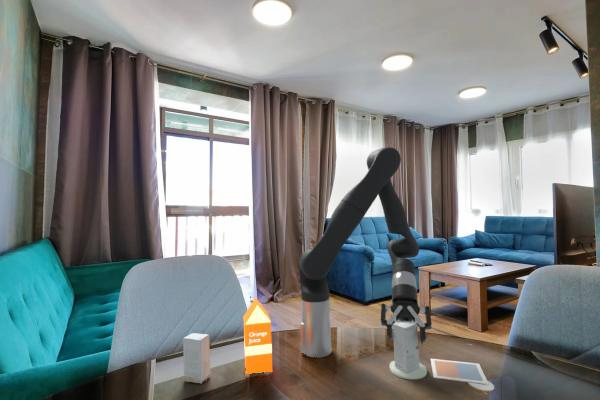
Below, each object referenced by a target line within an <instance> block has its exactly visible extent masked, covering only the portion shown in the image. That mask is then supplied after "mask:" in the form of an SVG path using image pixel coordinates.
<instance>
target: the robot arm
mask: <svg viewBox="0 0 600 400" xmlns="http://www.w3.org/2000/svg"><path fill="white" fill-rule="evenodd" d="M401 161H402V157H401V154H400V152H399V150H397V149H396V148H394V147H392V146H389V147H382V148H378V149H376V150H372V151H371V152H370V153H369V154H368V156H367V158H366V166H367V169H368V171H367V172H366V174H365V175H364V176H363V178H362V179H361V180H360V181H359V182H357V183H356V184H355V185H354V187H352V188H351V189H350V190H349V191H348V192H347V193H346V194H345V195H344V196H343V198H342V199H341V200H340V202H339V203H338V204H337V206H336V208H335V209H334V211H333V213H332V214H331V217H330V218H329V221H328V223H327V226H326V229H325V231H324V233H323V235H322V236H321V237H320V238H319V240H318V242H317V243H316V244H315V245H314V247H313V248H308V249H307V250H305V251H304V252H303V253H302V254H301V256H300V257H299V264H298V265H299V267H298V268H299V285H300V286H299V287H300V295H301V318H302V319H301V321H302V322H301V323H300V348H301V353H304V354H303V355H305V354H306V355H305V356H307V357H308V358H309V357H310V358H314V357H315V358H314V359H319V358H320V359H321V358H324V357H327V356H330V354H331V353H332V332H331V331H332V329H331V328H332V327H331V308H330V305H331V303H330V289H329V285H328V279H327V278H328V277H327V275H328V273H329V272H330V271H331V270H330V269H331V268H332V266H333V265H334V262H335V260H336V258H337V257H338V254H340V253H339V252H340V251H341V250H342V248H343V246H344V245H345V243H347V241H348V239H350V238H351V236H352V235H353V233H354V231H355V230H356V228H357V227H358V225H359V224H360V223H361V222H362V221H363V218H364V217H365V215H366V214H367V213H368V211H369V209H370V208H371V206H372V205H373V203H374V201H375V200H376V198H377V197H378V198H379V200H380V203H381V207H382V212H383V214H384V219H385V223H386V228H387V231H388V232H389V233H390V234H394V235H401V236H402V237H401V238H394V239H391V240H390V241H388V243H387V246H386V249H387V253H388V255H389V258H390V261H391V265H392V279H391V280H392V281H391V304H390V305H386V303H381V304H380V305H381V307H380V323H381V326H383V327H386V336H387V338H388V339H389V342H391V341H393V324H395V323H398V322H400V321H404V320H407V321H411V322H414V323H417V328H419V341H420V344H421V345H424V342H426V339H427V336H426V330H432V325H433V324H432V317H431V309H430V306H428V305H426V306H425V307H420V306H419V300H418V299H419V298H418V287H417V285H418V284H417V279H416V269H415V264H414V262H413V261H412V260H411V259H413V258H417V256H418V255H419V253H420V246H419V243H418V242H417V240H416V239H415V236H414V234H413V232H412V231H411V229H410V227H409V224H408V219H407V215H406V211H405V208H404V205H403V203H402V201H401V199H400V197H399V195H398V194H397V192H396V190H395V187H394V185H393V181H392V177H393V176H395V173H396V172H398V169H400V165H401V163H402V162H401ZM410 258H411V259H410ZM390 311H391V312H392V314H391V316H390V317H389V318H388V320H387V319H386V317H387V316H386V315H387V314H388V313H389V312H390ZM420 313H422V315H423V316H424V317H425V322H423V320H422V319H421V317H420V316H419V314H420ZM316 357H317V358H316Z"/></svg>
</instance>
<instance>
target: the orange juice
mask: <svg viewBox="0 0 600 400" xmlns="http://www.w3.org/2000/svg"><path fill="white" fill-rule="evenodd" d="M243 339H244V340H243V341H244V342H243V345H244V369H245V368H246V371H245V375H246V374H252V373H262V372H264V373H265V372H273V346H272V345H273V344H272V343H273V342H272V321H271V318H270V315H269V313H268V311H267V310H266V309H265V308H264V306H263V305H262V303H261V302H260V300H259V299H257V297H256V296H255V298H254V299H253V301H252V302H251V303H250V306H249V307H248V309H247V310H246V312H245V314H244V315H243Z"/></svg>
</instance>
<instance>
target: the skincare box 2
mask: <svg viewBox="0 0 600 400" xmlns="http://www.w3.org/2000/svg"><path fill="white" fill-rule="evenodd" d="M392 341H393V354H394V355H393V357H394V358H393V359H394V360H393V361H395V367H396V368H398V369H400V370H402V371H404V372H406V373H407V372H409V371H412V370H414V369H416V368H418V367H419V366H420V364H419V362H420V353H419V352H420V351H419V350H420V348H419V333H418V326H417V323H414V322H413V321H407V320H404V321H400V320H399V321H397V322H396V323H395V324H393V326H392Z"/></svg>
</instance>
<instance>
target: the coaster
mask: <svg viewBox="0 0 600 400" xmlns="http://www.w3.org/2000/svg"><path fill="white" fill-rule="evenodd" d="M419 364H420V366H419V367H418V368H416V369H414V370H412V371H409V372H407V373H406V372H404V371H402V370H400V369H398V368H396V367H395V361H394V360H392V361H390V363H389V371H390V373H392V374H393V375H395V376H396V377H398V378H401V379H405V380H410V381H411V380H412V381H414V380H421V379H423V378H425V377H426V376H427V374H428V370H427V367H426V366H425V365H424V364H422V363H421V362H420V361H419Z"/></svg>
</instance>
